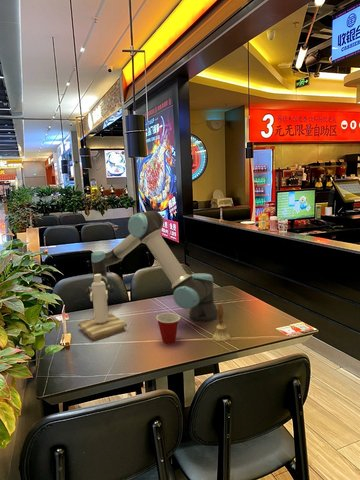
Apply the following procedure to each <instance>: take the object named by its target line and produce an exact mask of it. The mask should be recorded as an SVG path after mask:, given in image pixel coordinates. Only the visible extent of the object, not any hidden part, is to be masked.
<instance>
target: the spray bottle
mask: <svg viewBox="0 0 360 480" xmlns="http://www.w3.org/2000/svg"><path fill="white" fill-rule="evenodd" d="M94 279H95V282H93V281H92V283H91V286H90V287H92V297H93V299H92V304H93V314H94V315H93V316H94V318H95V322H97V323H103V322H106V321H108V320H109V317H108V314H109V310H108V309H109V308H108V299H106V286H105V282H103V281H101V274H95V275H94V278H93V280H94Z"/></svg>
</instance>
